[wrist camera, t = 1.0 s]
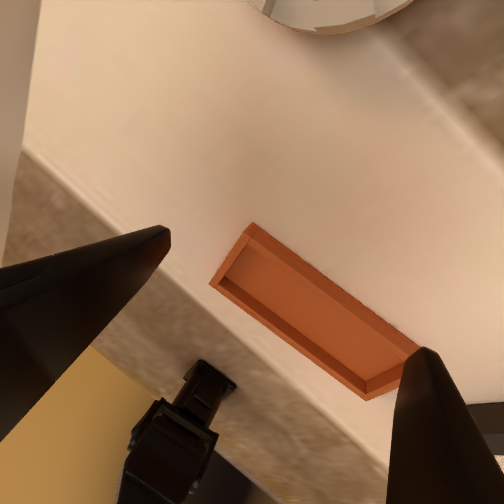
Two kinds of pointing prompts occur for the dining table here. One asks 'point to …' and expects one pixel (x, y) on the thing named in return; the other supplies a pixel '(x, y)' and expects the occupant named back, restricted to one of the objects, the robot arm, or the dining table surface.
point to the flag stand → (328, 13)
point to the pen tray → (313, 314)
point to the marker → (490, 424)
